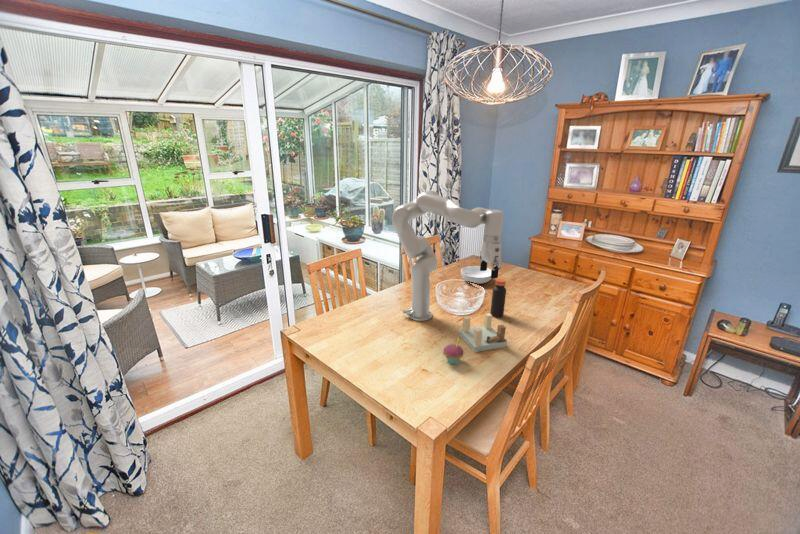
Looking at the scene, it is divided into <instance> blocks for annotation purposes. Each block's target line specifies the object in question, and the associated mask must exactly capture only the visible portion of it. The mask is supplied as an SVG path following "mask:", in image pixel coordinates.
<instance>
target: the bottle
mask: <svg viewBox="0 0 800 534" xmlns="http://www.w3.org/2000/svg"><path fill="white" fill-rule="evenodd" d="M494 284H495V286H493V287H492V293H491V303H490V311H489V313H490V314H491V315H492V318H503V316H504V312H505V304H506V296H507V289H506V279H504V278H495V283H494Z"/></svg>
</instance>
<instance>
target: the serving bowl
mask: <svg viewBox="0 0 800 534" xmlns="http://www.w3.org/2000/svg"><path fill="white" fill-rule="evenodd" d="M491 270H492V269H491V268H488V267H487V270H486V271H480V265H479V266H478V265H469V266H464V267H462V268H461V270H460V274H461V277H462V278H463V280H465V281H466V282H468V281H470V282H469V283H471V282H474V283H473V284H475V283H477V285H480V284H481V285H482V284H485V283H488V282H490V280H492V278H491Z"/></svg>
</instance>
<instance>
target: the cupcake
mask: <svg viewBox="0 0 800 534" xmlns="http://www.w3.org/2000/svg"><path fill="white" fill-rule="evenodd" d="M460 337H461V336H460V335H459V336H458V338H457V340H456V344H448V345H446V346H444V348H443V350H442V354H443V355H444V357H445V358H446V361H447V362H448V364H451V365H457V364H459V362H460V359H462V358H463V356H464V355H465V354H464V353H465V352H464V349H463V347H462V346H460V345H459V341H460Z"/></svg>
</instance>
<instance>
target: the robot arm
mask: <svg viewBox="0 0 800 534" xmlns="http://www.w3.org/2000/svg"><path fill="white" fill-rule="evenodd" d="M426 213H431V214H435V215H437V216H439V217H440V216H441V217H443V218H446V220H449V221H450V222H451V223H454V224H457V225H459V226H462V227H466V228H470V229H471V228H472V229H473V228H477V227H479V226H480V225H484V229H483V238H482V239H483V242H482V247H481V250H480V251H479V258H480V265H479V266H480V271H486V270H487V268H488V265H491V268H492V269H490V270H491V280H492V279H499V278H498V276H499V270H500V269H501V267H502V264H503V263H502V243H501V242H502V241H501V240H502V233H503V225H504V212H503V211H502V210H501V209H489V208H485V207H480V206H477V207H474V208H472V209H467V208H463V207H461V206H459V205H456V204H455V203H454V201H453V199H451V198H448V197H444V196H441V195H440V194H439V193H438V192H437V191H435V190H427V191H423V192H420V193H419V194H418V195H417V197H416V198H415V199H414V200H412V201H409V202H406V203H403V204H401V205H399V206H397V207H396V209H394V211H393V212H392V216H391V223H392V227H393V228H394V231H395V232H396V234H397V237H398V239H399V241H400V244H401V245H402V246H401V247H402V248H403V251H404V253H405V255H406V256H407V258H409V259H415V258H418V259H416V260H414V262H413V263H412V264H411V265H410V277H411V305H410V306H409V308H408V309H402V314H403V315H404V314H405V315H406V316H408V318H410V319H411V320H413V321H416V322H417V321H418V322H426V321H428V320H431V319H432V317H433V313H432V311H430V305H431V303H430V300H431V281H430V274H431V273H433V272H434V271H435V270H436V269H437V268H438V260H437V256H436V254H435V252H434V250H433V247H432V245H431V243H430V240H429V239H428V238H427V237H425V236H423V235H417V234H416V232H415V230H414V228H413V226H412V224H410V223H409V222H410V221H413V220H415V219H417V218H419V217H421V216H423V215H425V214H426Z"/></svg>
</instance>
